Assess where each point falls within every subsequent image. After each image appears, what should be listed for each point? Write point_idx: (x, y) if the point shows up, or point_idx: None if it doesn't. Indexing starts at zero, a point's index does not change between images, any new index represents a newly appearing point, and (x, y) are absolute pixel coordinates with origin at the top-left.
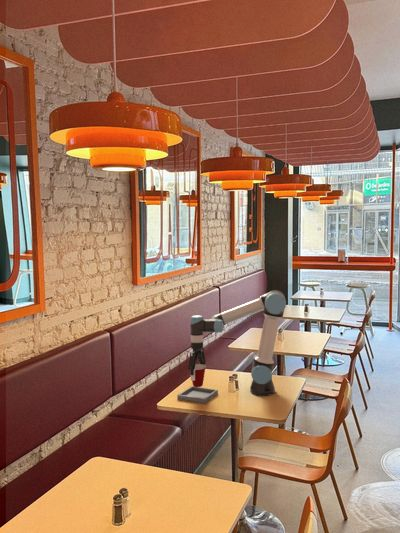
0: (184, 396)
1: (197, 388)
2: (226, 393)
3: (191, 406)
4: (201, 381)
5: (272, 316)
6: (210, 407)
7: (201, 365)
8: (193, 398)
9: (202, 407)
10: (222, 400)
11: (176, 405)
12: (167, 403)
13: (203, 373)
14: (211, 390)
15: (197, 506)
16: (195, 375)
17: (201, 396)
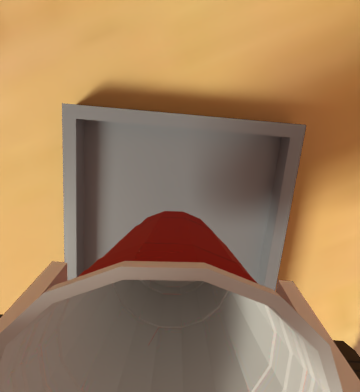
0: (275, 281)
1: (79, 266)
2: (26, 46)
3: (354, 189)
4: (200, 224)
5: None
6: (345, 56)
7: (9, 385)
8: (287, 214)
9: (357, 112)
10: (181, 20)
11: (356, 279)
12: (336, 335)
13: (187, 241)
14: (78, 154)
15: None
16: (263, 318)
17: (183, 191)
